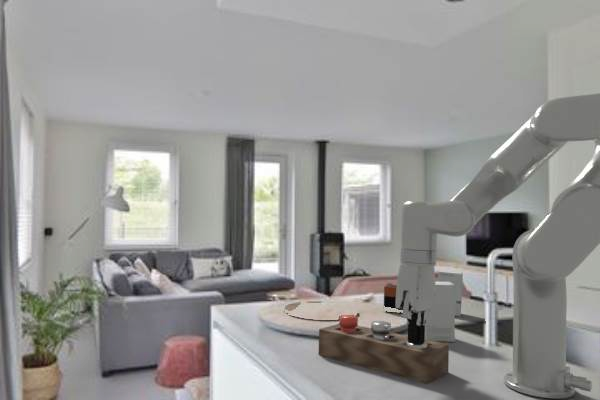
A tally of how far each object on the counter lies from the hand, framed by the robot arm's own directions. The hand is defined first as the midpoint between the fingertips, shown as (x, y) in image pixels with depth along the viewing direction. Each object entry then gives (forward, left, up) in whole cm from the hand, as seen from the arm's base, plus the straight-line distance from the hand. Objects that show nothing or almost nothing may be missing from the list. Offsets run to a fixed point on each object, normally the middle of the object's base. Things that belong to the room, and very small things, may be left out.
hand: (416, 342), depth 102 cm
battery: (+36, -54, -7) cm, 65 cm away
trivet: (+53, -34, -7) cm, 63 cm away
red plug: (+18, 0, -3) cm, 18 cm away
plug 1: (+9, 0, -3) cm, 9 cm away
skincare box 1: (+21, -66, -7) cm, 70 cm away
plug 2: (0, 0, -5) cm, 5 cm away
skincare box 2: (+9, -30, -7) cm, 32 cm away
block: (+9, 0, -6) cm, 11 cm away
